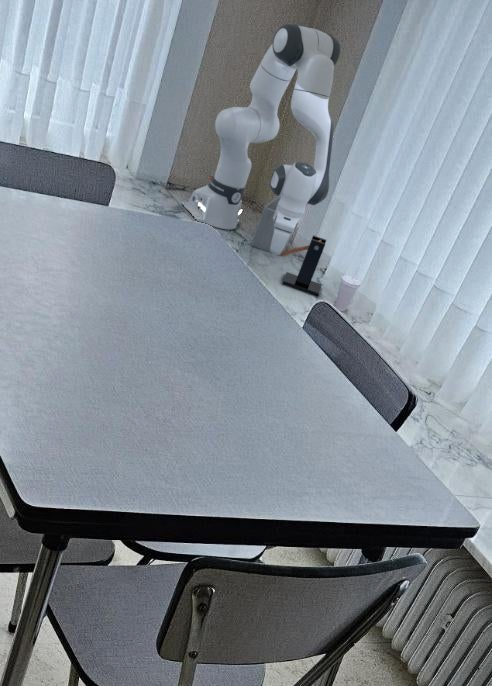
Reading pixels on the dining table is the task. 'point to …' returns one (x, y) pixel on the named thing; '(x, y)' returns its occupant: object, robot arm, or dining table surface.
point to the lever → (295, 250)
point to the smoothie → (346, 291)
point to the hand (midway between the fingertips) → (273, 258)
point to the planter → (266, 227)
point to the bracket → (307, 269)
